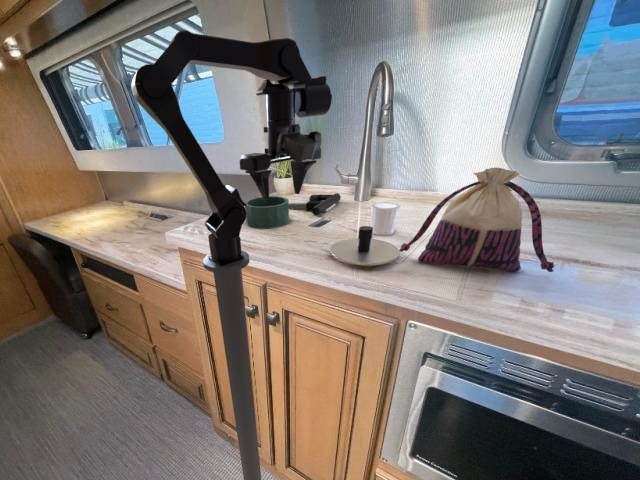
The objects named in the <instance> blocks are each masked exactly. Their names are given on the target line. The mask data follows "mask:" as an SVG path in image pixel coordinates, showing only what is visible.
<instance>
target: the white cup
mask: <svg viewBox="0 0 640 480" xmlns="http://www.w3.org/2000/svg"><path fill="white" fill-rule="evenodd" d="M400 209H401V205H400V204H399V203H397V202H389V201H388V202H386V201H385V202H376V203H373V204H372V205H371V210H370V214H371V215H370V227H373V233H372V235H378V236H388V235H389V236H390V235H392V234H393V233H394V231H395V228H396V224H397V220H398V216H399V213H400Z"/></svg>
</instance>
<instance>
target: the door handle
mask: <svg viewBox="0 0 640 480" xmlns="http://www.w3.org/2000/svg"><path fill="white" fill-rule="evenodd" d="M341 198H342V196H341V194H340V193H338V192H337V193H333V194H311V195H310V196H309V198H308V199H309V201H307V202H289V210H305V211H306V212H311V213H312V214H313V215H314V216H320V215H321V214H322V213H324V212H325V213H327V212H329V211H330V210H331V209H332V208H334V207H335V206H336V204H337V203H338V202H340V201H341Z"/></svg>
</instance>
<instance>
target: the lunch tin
mask: <svg viewBox="0 0 640 480" xmlns="http://www.w3.org/2000/svg"><path fill="white" fill-rule="evenodd" d="M244 203H245V204H247V206H244V207H245V209H246V212H247V216H246V219H245V223H246V226H247V227H250V228H253V229H275V228H279V227H282V226H284V225H287V224H288V223H289V219H290V209H289V203H290V200H289V198H287V197H284V196H278V195H277V196H276V195H269V202H265V201H264V199H263V197H262V196H259V197H253V198H250V199H248V200H245V202H244Z"/></svg>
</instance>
